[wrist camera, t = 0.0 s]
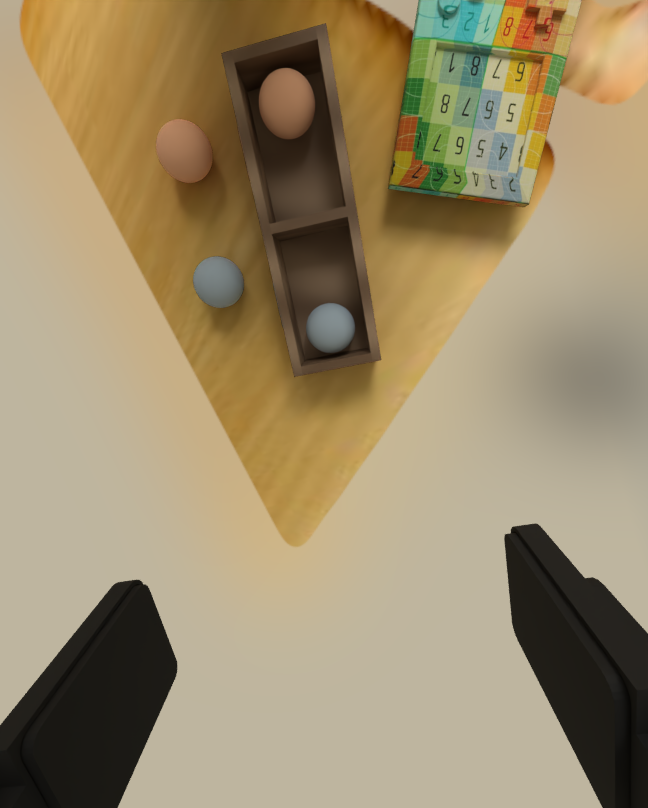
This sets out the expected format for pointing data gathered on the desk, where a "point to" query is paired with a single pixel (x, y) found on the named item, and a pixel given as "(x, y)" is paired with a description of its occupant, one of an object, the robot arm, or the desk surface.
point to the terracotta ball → (184, 150)
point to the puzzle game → (480, 97)
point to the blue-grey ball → (330, 327)
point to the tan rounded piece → (286, 103)
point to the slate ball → (218, 282)
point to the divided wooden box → (305, 199)
